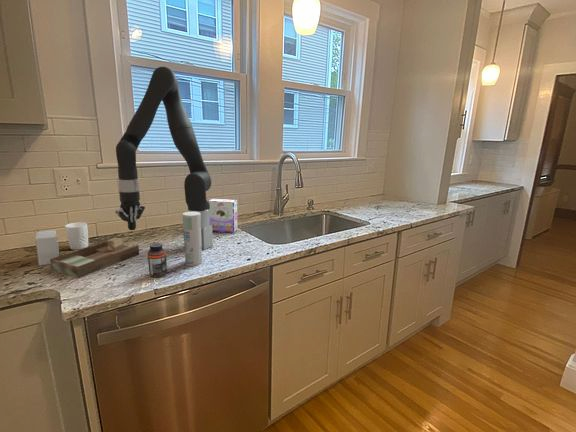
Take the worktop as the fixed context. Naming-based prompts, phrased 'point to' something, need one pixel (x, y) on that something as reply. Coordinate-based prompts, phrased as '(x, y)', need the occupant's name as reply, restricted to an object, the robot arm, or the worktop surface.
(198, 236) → the spray can
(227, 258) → the worktop surface
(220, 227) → the candy box
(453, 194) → the worktop surface
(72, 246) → the white cup
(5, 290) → the worktop surface
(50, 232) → the skincare box
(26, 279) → the worktop surface
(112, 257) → the box
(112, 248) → the maple block
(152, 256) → the supplement bottle
